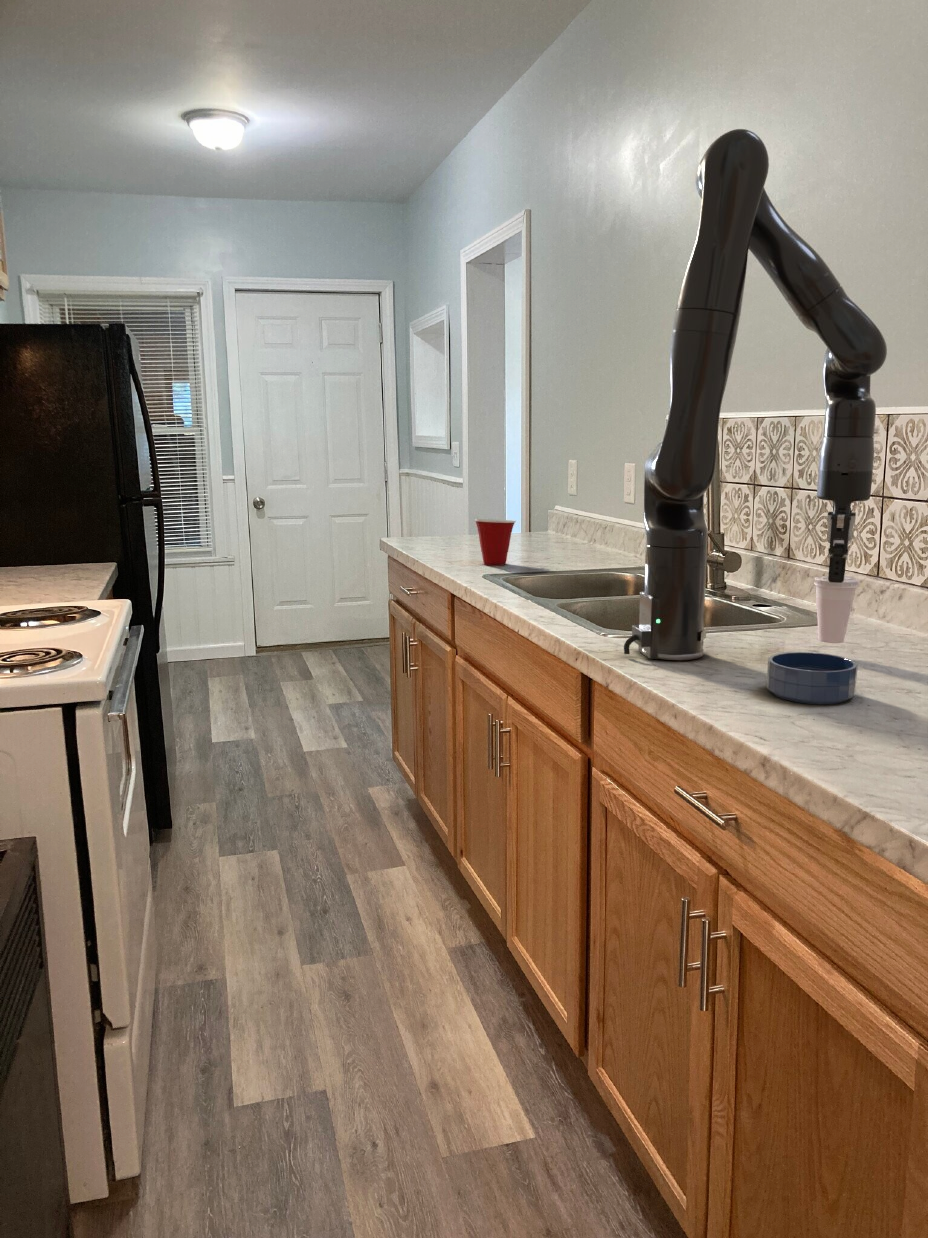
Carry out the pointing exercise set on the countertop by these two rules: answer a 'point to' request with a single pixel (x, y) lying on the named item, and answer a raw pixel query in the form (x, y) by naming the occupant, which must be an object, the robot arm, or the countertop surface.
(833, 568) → the robot arm
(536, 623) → the countertop surface
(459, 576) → the countertop surface
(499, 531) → the plastic cup
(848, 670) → the bowl
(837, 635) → the smoothie
